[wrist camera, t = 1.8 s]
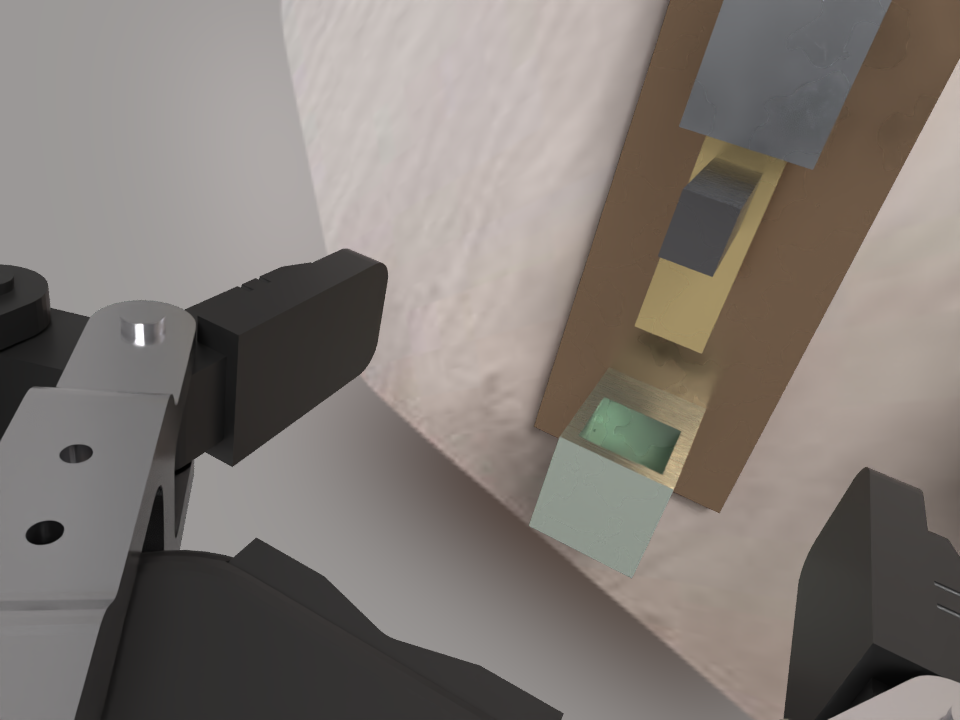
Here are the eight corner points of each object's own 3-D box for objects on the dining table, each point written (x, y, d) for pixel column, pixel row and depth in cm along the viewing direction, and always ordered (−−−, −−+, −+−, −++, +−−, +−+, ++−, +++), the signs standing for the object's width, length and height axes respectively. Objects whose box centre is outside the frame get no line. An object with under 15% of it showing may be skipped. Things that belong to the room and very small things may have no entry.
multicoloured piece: (781, -316, 24) (746, -444, 17) (1124, -267, 21) (1247, -397, 14) (544, 413, 39) (476, 499, 32) (724, 496, 37) (691, 609, 30)
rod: (885, -310, 20) (894, -456, 13) (990, -295, 19) (1049, -443, 13) (651, 303, 29) (593, 382, 23) (713, 327, 28) (671, 416, 22)
